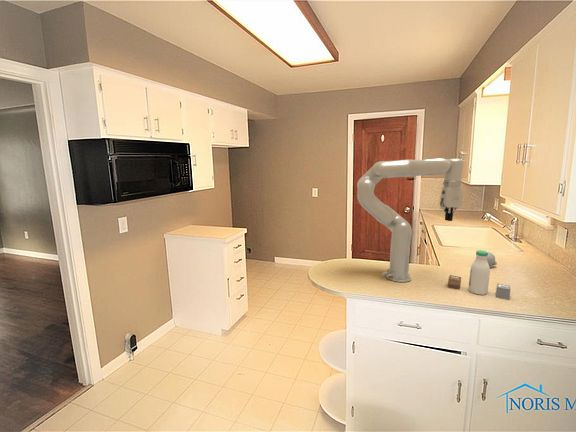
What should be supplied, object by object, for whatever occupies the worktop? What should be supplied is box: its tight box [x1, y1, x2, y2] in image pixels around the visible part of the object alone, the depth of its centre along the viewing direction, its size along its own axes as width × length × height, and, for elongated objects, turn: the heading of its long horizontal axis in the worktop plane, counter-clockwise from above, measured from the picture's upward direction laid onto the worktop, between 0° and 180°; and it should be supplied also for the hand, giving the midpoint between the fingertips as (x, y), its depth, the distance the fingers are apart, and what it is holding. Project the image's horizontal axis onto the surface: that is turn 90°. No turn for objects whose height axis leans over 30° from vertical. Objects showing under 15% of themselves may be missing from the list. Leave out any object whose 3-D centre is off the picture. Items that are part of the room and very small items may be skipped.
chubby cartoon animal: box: [487, 251, 498, 269], centre depth 173 cm, size 7×12×8 cm, turn 110°
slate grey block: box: [495, 282, 511, 301], centre depth 137 cm, size 5×5×5 cm
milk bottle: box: [468, 249, 491, 296], centre depth 141 cm, size 8×8×20 cm
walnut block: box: [447, 274, 462, 291], centre depth 148 cm, size 5×5×5 cm
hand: (448, 220), depth 151 cm, fingers closed
